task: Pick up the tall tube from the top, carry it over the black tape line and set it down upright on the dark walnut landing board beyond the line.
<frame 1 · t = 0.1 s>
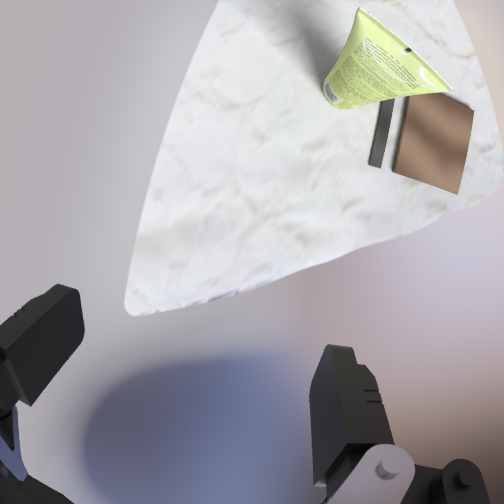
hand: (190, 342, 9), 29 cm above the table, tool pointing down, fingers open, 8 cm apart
tube: (343, 91, 31), on the table
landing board: (435, 138, 31), on the table
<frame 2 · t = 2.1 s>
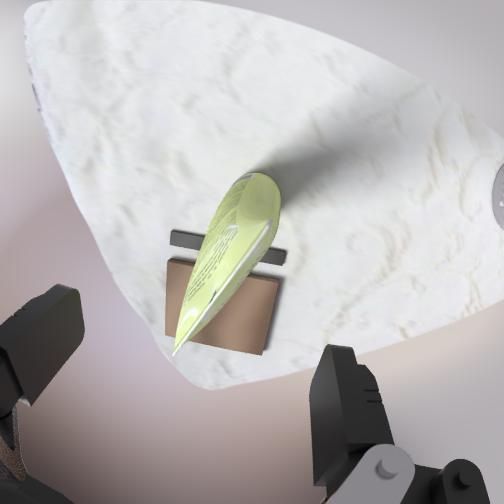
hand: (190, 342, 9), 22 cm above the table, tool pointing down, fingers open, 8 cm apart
tube: (254, 198, 30), on the table
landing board: (218, 308, 34), on the table
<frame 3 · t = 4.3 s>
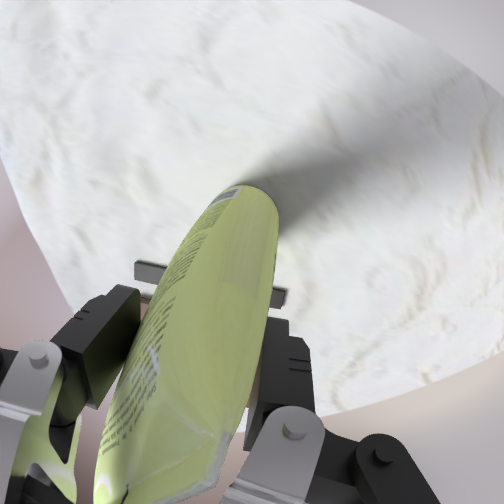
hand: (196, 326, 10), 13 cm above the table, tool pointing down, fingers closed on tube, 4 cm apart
tube: (242, 220, 22), on the table, touching gripper
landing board: (199, 356, 26), on the table
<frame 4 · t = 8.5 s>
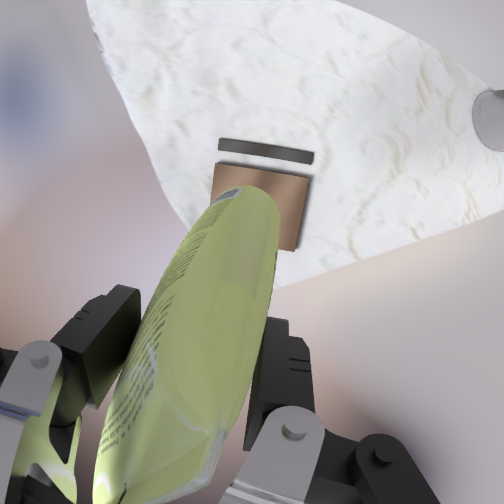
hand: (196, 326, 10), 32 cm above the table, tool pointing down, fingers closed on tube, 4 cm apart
tube: (243, 220, 22), point 19 cm above the table, touching gripper
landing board: (256, 207, 40), on the table
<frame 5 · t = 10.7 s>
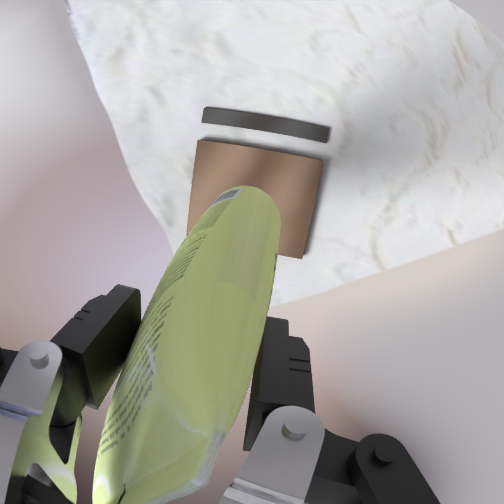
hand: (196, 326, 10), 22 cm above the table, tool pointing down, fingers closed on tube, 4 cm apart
tube: (243, 221, 22), point 9 cm above the table, touching gripper
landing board: (252, 198, 30), on the table
when the fingers open (15 cm above the table, at t = 12.7 s): tube drops 2 cm, resting on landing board.
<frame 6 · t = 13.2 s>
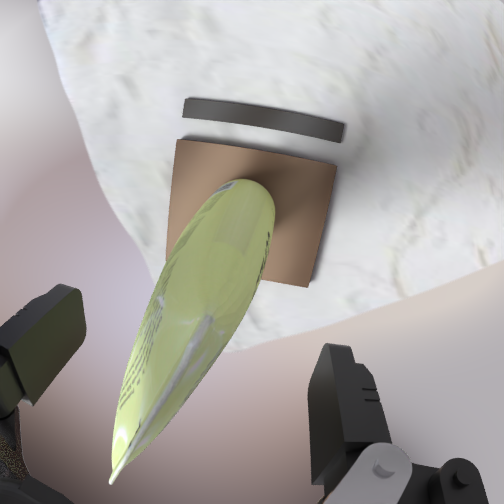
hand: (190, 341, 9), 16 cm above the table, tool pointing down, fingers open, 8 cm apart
tube: (241, 212, 23), point 1 cm above the table, touching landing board
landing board: (246, 212, 24), on the table
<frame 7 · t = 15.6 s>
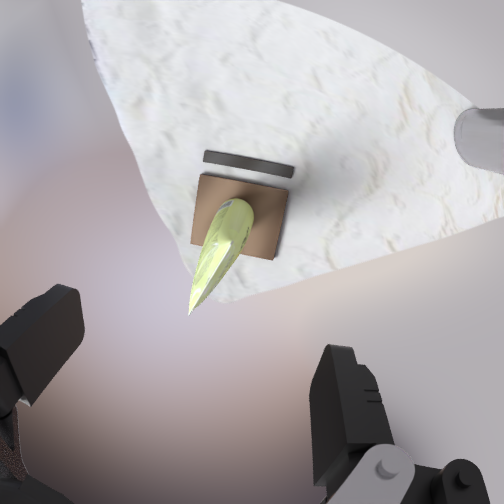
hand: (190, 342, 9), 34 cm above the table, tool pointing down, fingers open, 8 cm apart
tube: (235, 216, 42), point 1 cm above the table, touching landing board
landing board: (237, 216, 42), on the table
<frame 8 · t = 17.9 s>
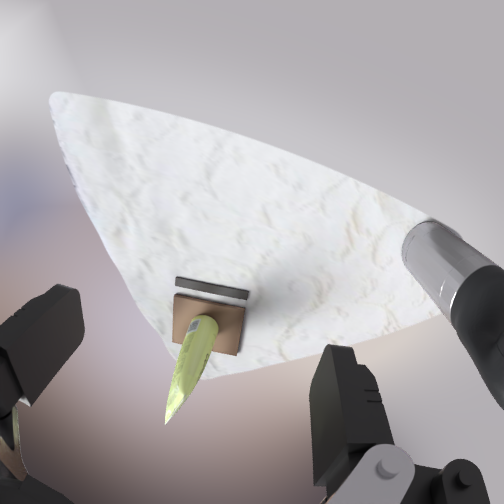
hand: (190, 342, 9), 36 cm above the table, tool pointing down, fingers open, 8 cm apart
tube: (204, 326, 52), point 1 cm above the table, touching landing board
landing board: (207, 325, 52), on the table
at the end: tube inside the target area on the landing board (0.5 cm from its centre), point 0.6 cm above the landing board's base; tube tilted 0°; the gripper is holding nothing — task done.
